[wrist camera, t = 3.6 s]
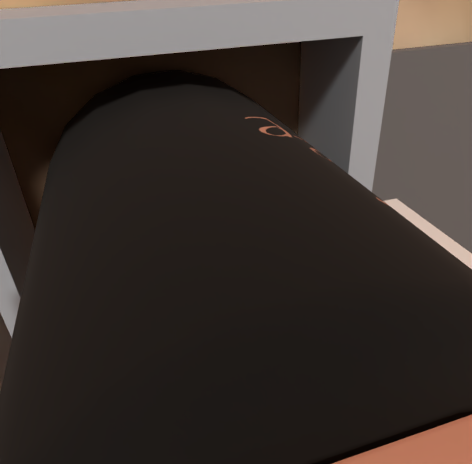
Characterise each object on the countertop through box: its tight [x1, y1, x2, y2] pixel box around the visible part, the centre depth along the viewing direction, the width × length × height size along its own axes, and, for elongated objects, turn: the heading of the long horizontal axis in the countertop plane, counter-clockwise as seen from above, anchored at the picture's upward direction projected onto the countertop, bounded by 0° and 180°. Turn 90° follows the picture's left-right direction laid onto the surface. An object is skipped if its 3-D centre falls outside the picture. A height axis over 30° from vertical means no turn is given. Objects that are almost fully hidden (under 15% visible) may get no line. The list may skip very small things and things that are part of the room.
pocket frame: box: [0, 0, 399, 338], centre depth 18 cm, size 15×15×5 cm
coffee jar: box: [0, 70, 472, 464], centre depth 13 cm, size 11×11×18 cm
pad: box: [372, 42, 472, 253], centre depth 25 cm, size 14×14×1 cm
